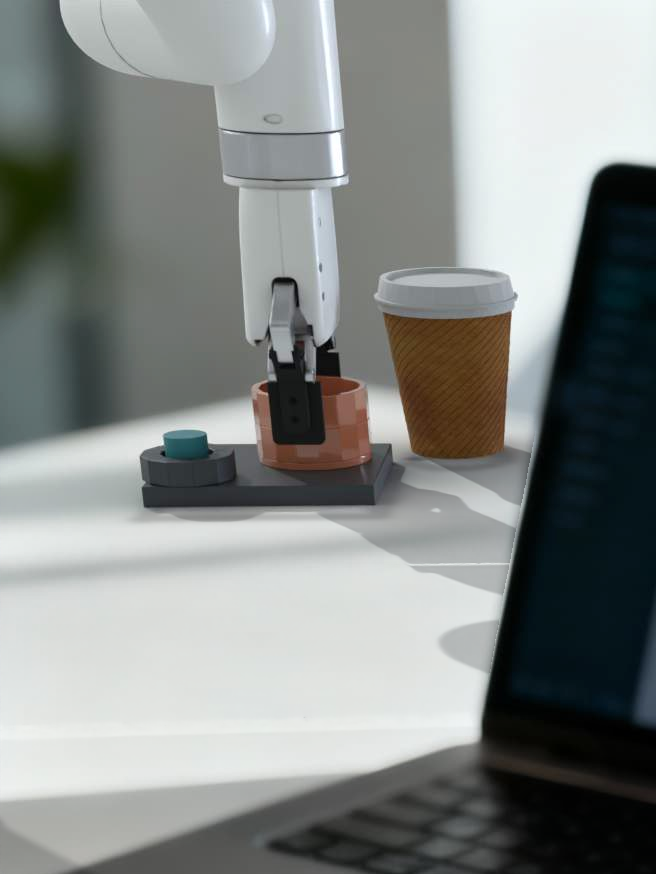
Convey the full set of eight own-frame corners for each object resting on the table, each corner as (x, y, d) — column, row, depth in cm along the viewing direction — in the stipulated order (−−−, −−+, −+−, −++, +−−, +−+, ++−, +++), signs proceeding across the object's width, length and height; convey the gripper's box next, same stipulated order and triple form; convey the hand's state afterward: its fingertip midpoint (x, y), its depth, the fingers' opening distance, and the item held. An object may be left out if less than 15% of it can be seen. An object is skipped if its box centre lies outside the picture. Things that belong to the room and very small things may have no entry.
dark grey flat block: (138, 509, 149) (132, 462, 148) (173, 464, 160) (168, 420, 159) (375, 507, 152) (370, 461, 151) (393, 463, 163) (389, 419, 162)
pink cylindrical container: (252, 471, 154) (244, 397, 152) (267, 446, 160) (260, 375, 158) (366, 470, 155) (360, 397, 153) (377, 446, 162) (371, 375, 160)
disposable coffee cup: (541, 460, 166) (530, 285, 161) (400, 469, 162) (385, 290, 157) (511, 431, 173) (500, 263, 169) (376, 439, 169) (361, 268, 165)
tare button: (162, 462, 150) (159, 438, 149) (169, 453, 152) (166, 429, 152) (205, 462, 150) (203, 438, 150) (212, 453, 153) (209, 429, 152)
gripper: (243, 142, 157) (268, 400, 164) (198, 173, 142) (229, 457, 148) (361, 145, 159) (382, 400, 165) (330, 176, 143) (354, 457, 150)
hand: (309, 427), depth 157 cm, fingers open, 9 cm apart
